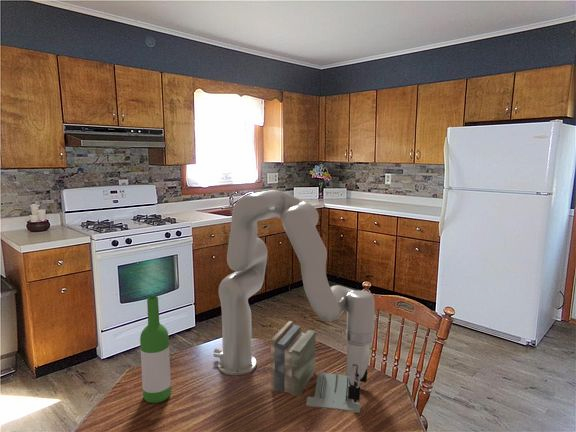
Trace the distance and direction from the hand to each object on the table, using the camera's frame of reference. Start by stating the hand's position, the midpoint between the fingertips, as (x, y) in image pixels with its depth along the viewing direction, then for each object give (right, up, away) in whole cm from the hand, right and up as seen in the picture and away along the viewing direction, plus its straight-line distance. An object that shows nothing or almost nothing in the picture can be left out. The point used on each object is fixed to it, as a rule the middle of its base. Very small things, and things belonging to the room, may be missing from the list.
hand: (357, 389), depth 118 cm
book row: (-18, -1, +8) cm, 20 cm away
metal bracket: (-7, -2, 0) cm, 7 cm away
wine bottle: (-58, -2, -1) cm, 58 cm away
